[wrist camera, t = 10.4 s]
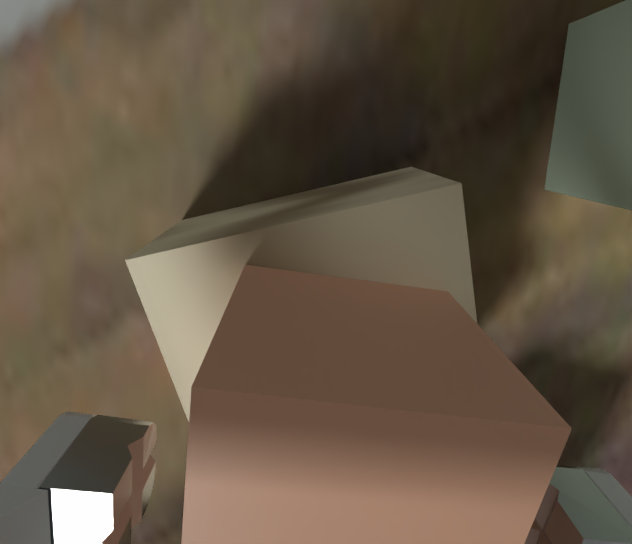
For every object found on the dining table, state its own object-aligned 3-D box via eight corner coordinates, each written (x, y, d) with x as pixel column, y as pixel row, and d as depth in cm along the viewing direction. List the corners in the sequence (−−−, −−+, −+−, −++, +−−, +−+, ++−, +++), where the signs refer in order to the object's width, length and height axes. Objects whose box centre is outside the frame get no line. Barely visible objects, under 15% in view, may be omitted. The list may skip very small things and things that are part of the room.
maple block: (409, 165, 14) (461, 183, 9) (439, 366, 17) (492, 458, 12) (184, 218, 15) (125, 260, 10) (246, 406, 17) (224, 511, 12)
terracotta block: (448, 291, 10) (572, 429, 6) (404, 453, 12) (472, 669, 7) (244, 264, 10) (191, 386, 5) (228, 436, 11) (174, 650, 7)
